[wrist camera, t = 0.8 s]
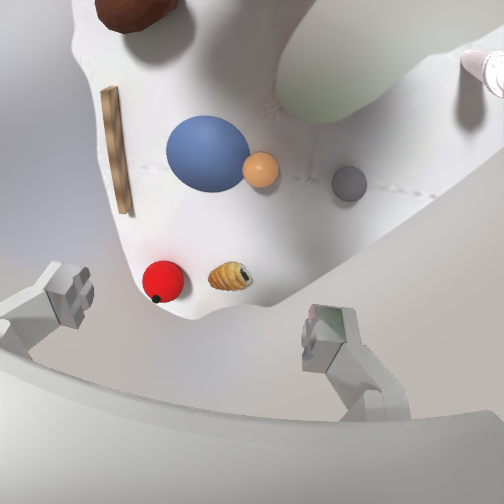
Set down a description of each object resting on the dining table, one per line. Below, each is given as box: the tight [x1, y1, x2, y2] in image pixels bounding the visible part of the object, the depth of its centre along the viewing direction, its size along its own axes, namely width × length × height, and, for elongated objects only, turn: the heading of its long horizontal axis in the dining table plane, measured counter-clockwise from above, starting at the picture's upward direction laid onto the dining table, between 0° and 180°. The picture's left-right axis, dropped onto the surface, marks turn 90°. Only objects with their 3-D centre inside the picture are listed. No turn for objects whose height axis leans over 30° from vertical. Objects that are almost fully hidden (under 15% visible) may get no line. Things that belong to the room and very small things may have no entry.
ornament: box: [142, 261, 184, 303], centre depth 66 cm, size 9×9×10 cm
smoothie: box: [461, 50, 504, 98], centre depth 26 cm, size 6×6×14 cm
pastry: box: [208, 262, 252, 291], centre depth 67 cm, size 9×7×4 cm
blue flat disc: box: [166, 116, 250, 192], centre depth 50 cm, size 14×14×1 cm
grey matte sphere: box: [332, 167, 367, 202], centre depth 47 cm, size 6×6×6 cm
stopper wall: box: [100, 86, 132, 214], centre depth 49 cm, size 24×2×3 cm, turn 175°
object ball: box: [242, 152, 279, 188], centre depth 48 cm, size 6×6×6 cm
